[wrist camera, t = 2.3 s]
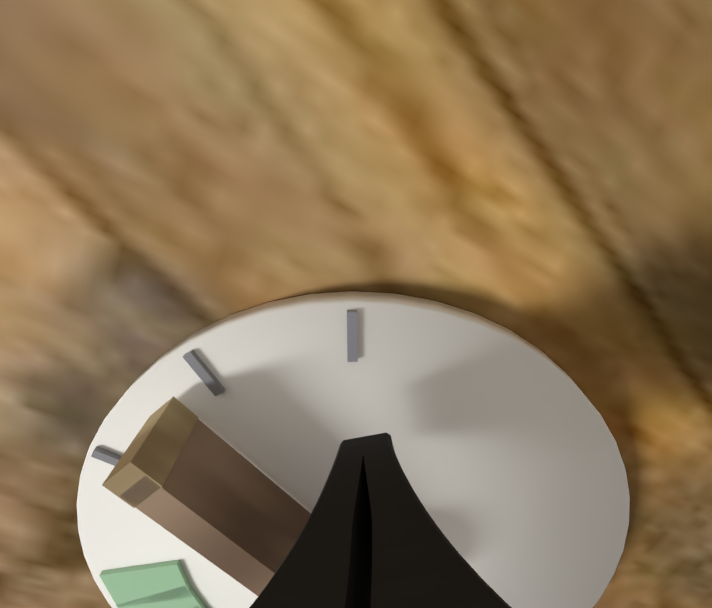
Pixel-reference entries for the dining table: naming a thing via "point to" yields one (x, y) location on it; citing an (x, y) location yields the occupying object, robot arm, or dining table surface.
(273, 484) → the tuning pointer
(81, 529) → the gauge dial
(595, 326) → the dining table surface
